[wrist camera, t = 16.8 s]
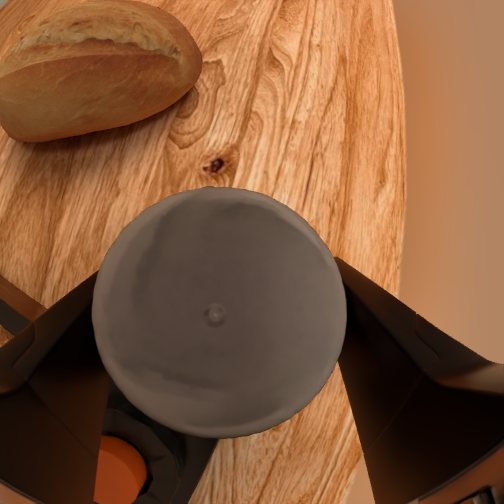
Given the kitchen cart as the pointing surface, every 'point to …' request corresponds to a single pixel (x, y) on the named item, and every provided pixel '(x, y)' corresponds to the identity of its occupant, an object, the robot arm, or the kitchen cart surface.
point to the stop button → (118, 472)
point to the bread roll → (95, 70)
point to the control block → (158, 451)
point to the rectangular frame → (17, 308)
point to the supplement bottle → (219, 312)
